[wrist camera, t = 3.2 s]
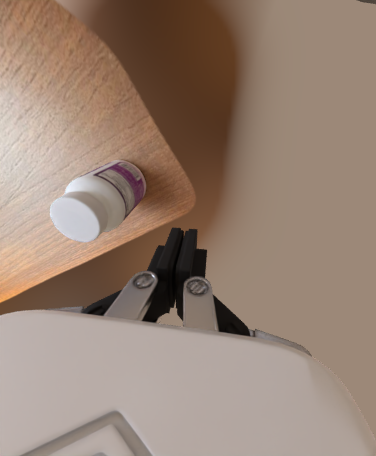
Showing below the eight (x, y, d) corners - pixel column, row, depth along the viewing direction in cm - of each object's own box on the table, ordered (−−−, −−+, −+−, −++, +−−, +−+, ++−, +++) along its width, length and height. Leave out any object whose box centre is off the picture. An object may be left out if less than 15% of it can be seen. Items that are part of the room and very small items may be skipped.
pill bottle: (113, 205, 25) (61, 251, 16) (97, 162, 22) (24, 193, 14) (153, 200, 23) (117, 248, 15) (140, 155, 21) (89, 184, 13)
